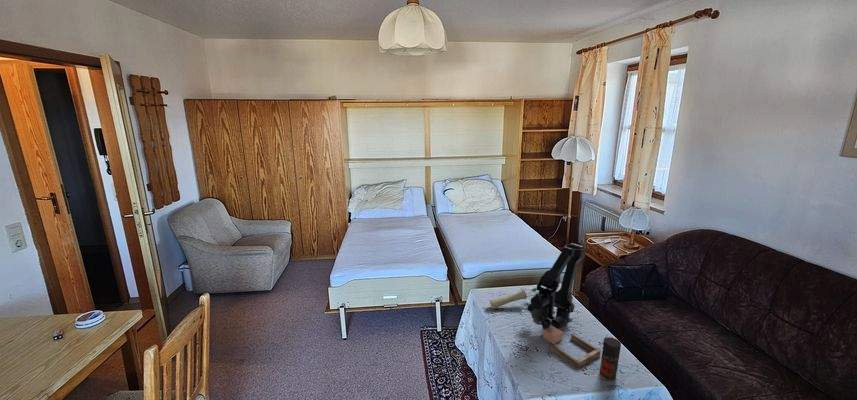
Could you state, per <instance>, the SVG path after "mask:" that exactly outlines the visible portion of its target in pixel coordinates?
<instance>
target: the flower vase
mask: <svg viewBox="0 0 857 400" xmlns="http://www.w3.org/2000/svg"><path fill="white" fill-rule="evenodd" d="M538 283H539V282H537V283H536V287H533V289H531V291H530V292H529V294H530V295H529V294H526V291H525V289H522V290H521V291H518V292H515V293H513V294H509V295H506V296H503V297H497V298H494V299H489V304H490V307H491V309H493V310H494V309H496V308H499V307H502V306H504V305H507V304H510V303H513V302H516V301H520V300H527V298H530V299H531V298H532V297H534V296H535V294H536V292H537V290H536V288H537V286H538ZM533 293H535V294H533Z"/></svg>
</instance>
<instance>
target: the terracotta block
mask: <svg viewBox="0 0 857 400" xmlns="http://www.w3.org/2000/svg"><path fill="white" fill-rule="evenodd" d="M542 330H543V329H542ZM563 335H564V332H563V331H562V330H561V329H557V328H555V327H554V326H552V325H550V326H549V327H548V328H546V329H544V330H543V332H542V338H543V339H545V340H547V342H549V343H551V344H554V345H555V344H557V343H559V342H560V341H562V340H563Z"/></svg>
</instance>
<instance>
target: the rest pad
mask: <svg viewBox="0 0 857 400" xmlns="http://www.w3.org/2000/svg"><path fill="white" fill-rule="evenodd" d="M532 319H533V318H532ZM533 322H534V323H535V324H537V325H542V324H541V321H540V322H538V321H536V320H535V319H533Z"/></svg>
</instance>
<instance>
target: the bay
mask: <svg viewBox="0 0 857 400" xmlns="http://www.w3.org/2000/svg"><path fill="white" fill-rule="evenodd" d="M570 340H571V341H573V342H575V343H577V344H578V345H580V346H582V347H583V348H584V349H586V350H588V351H589V353H587V354H585V355H584V356H581V357H579V358H578V359H576V358H574V357H573V356H571V355H570V354H568V353H567V352H566V351H564V350H563V349H561V347H558V346H556V345H555V344H552V343H551V344H550V351H552V352H553V353H555V354H556V355H558V356H560V358H562V359H564V360H565V361H567V362H568V363H570V364H571V365H573V366H574V367H575V368H576V369H579V368H581V367H583V366H584V365H586V364H588V363H590V362H591V361H593V360H595V359H597V358H598V357H600V356H601V354H602V350H601V349H599V348H598V347H596V346H594V345H592V344H591V343H590V342H588V341H586V340H584V338H583V339H582V338H581V337H580V336H578V335H576V334H574V333H571V334H570Z"/></svg>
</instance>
